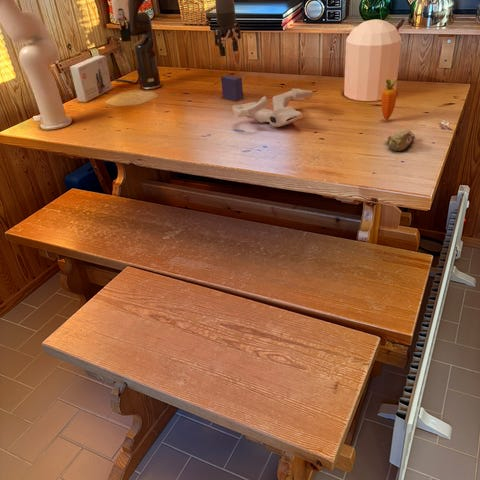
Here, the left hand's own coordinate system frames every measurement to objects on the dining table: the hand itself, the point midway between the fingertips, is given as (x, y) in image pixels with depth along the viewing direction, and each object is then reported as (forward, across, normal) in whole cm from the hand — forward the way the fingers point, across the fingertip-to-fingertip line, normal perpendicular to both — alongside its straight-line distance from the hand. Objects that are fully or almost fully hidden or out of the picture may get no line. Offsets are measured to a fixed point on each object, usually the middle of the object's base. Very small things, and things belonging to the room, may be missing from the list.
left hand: (126, 38), depth 168 cm
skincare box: (+32, -47, -22) cm, 62 cm away
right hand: (+12, -15, +39) cm, 44 cm away
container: (+30, +3, +94) cm, 99 cm away
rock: (+30, +56, +83) cm, 104 cm away
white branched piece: (+31, +24, +51) cm, 64 cm away
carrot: (+30, +35, +87) cm, 99 cm away
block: (+31, -15, +39) cm, 52 cm away
